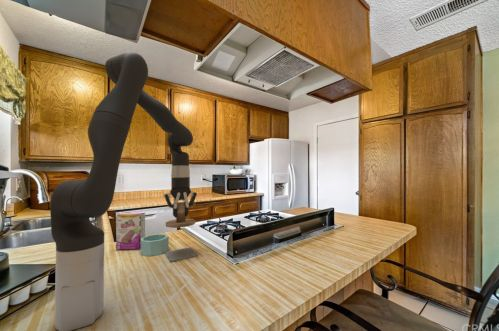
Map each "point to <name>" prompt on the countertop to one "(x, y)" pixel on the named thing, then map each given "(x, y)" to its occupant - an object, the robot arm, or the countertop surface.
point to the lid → (180, 218)
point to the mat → (180, 254)
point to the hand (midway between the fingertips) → (180, 216)
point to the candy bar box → (130, 230)
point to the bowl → (154, 244)
